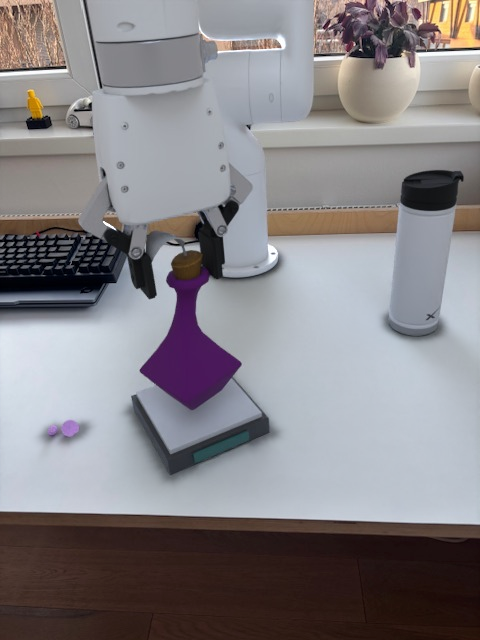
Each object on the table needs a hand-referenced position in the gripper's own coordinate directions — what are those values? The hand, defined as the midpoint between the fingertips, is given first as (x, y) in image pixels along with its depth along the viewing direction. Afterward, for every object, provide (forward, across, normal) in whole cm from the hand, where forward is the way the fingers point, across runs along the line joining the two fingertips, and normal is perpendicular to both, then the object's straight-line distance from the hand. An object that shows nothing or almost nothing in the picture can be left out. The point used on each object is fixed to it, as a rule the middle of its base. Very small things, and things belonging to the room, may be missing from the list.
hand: (180, 280), depth 49 cm
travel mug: (+17, -32, -2) cm, 36 cm away
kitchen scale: (+17, 0, 0) cm, 17 cm away
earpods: (+17, +13, -6) cm, 22 cm away
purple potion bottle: (+13, 0, 0) cm, 13 cm away
